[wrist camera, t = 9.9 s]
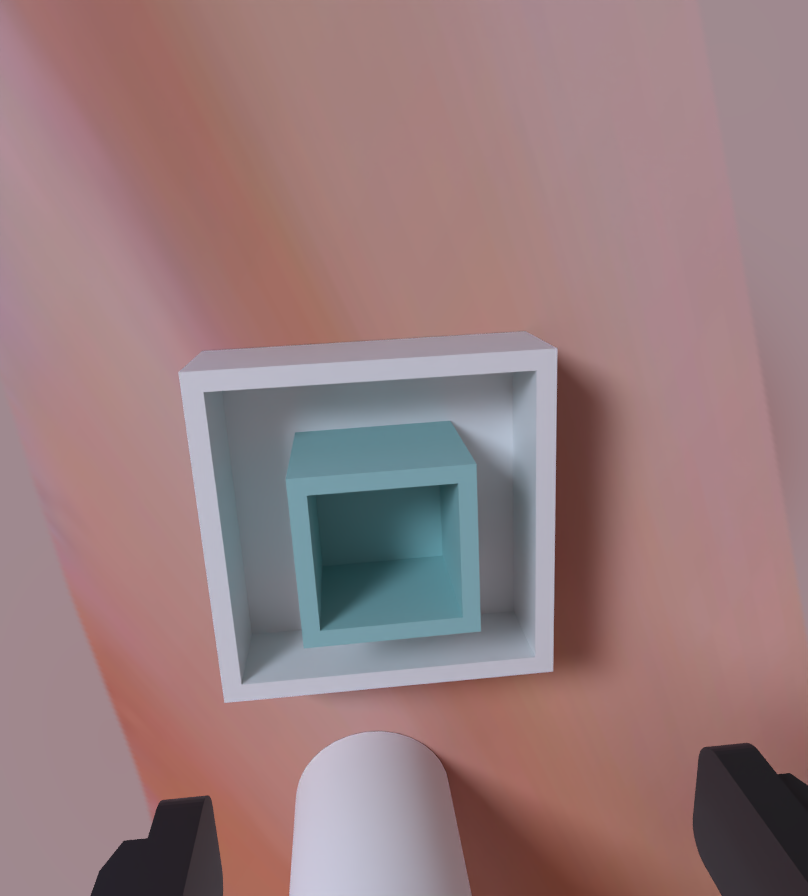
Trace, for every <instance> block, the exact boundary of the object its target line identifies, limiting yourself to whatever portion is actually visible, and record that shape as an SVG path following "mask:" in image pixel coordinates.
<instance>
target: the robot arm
mask: <svg viewBox="0 0 808 896" xmlns="http://www.w3.org/2000/svg"><path fill="white" fill-rule="evenodd" d="M693 831H694V837H695V841H696V845H697V849H698V852H699V854H700V857H701V859H702V861H703V863H704V865H705V867H706V869H707V870H708V872H709V874H710V876H711V877H712V879H713V881H714V883H715V884H716V886H717V888H718V890H719V891H720V893H721V895H722V896H808V785H806V784H805V783H803V782H802V781H800V780H799V779H798V778H796V777H795V776H793V775H792V774H790V773H787V774H777V773H776V772H775V771H774V770H773V768H772V767H771V766H770V765H769V763H768V762H767V761H766V760H765V758H764V757H763V756H762V755H761V753H760V752H759V751H758V750H757V749H756V748H755V747H754V746H753V745H752V744H750V743H741V744H731V745H721V746H711V747H704V748H703V749H702V750H701V751H700V754H699V760H698V770H697V781H696V791H695V802H694V812H693ZM91 896H223V874H222V865H221V859H220V852H219V845H218V839H217V832H216V826H215V819H214V812H213V806H212V801H211V798H210V796H198V797H188V798H178V799H168V800H162V801H160V803H159V804H158V807H157V809H156V813H155V816H154V819H153V823H152V826H151V829H150V832H149V836H148V838H146V839H137V840H127V841H123V843H122V844H121V845H120V846H119V847H118V849H117V850H116V851H115V852H114V854H113V855H112V856H111V857H110V859H109V860H108V861H107V863H106V864H105V865H104V866H103V867H102V869H101V870H100V871H99V874H98V877H97V879H96V882H95V885H94V888H93V890H92V893H91Z"/></svg>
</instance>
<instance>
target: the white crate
mask: <svg viewBox="0 0 808 896" xmlns="http://www.w3.org/2000/svg"><path fill="white" fill-rule="evenodd" d="M178 373H179V380H180V387H181V394H182V401H183V408H184V416H185V423H186V430H187V437H188V444H189V451H190V459H191V466H192V473H193V480H194V487H195V495H196V502H197V509H198V516H199V523H200V530H201V538H202V545H203V552H204V559H205V566H206V573H207V581H208V588H209V595H210V602H211V609H212V616H213V624H214V631H215V638H216V645H217V652H218V659H219V667H220V674H221V681H222V688H223V695H224V702H225V703H228V702H238V701H249V700H259V699H270V698H280V697H291V696H301V695H312V694H322V693H333V692H343V691H354V690H364V689H375V688H385V687H396V686H406V685H417V684H427V683H438V682H448V681H459V680H469V679H480V678H490V677H501V676H511V675H522V674H532V673H543V672H553V647H554V570H555V493H556V416H557V348H556V347H554V346H552V345H550V344H548V343H546V342H544V341H543V340H541V339H539V338H537V337H535V336H533V335H531V334H529V333H528V332H526V331H522V332H506V333H490V334H473V335H457V336H441V337H424V338H408V339H392V340H375V341H359V342H343V343H326V344H310V345H294V346H277V347H261V348H245V349H228V350H212V351H202V352H200V353H199V354H198V355H197V356H196V357H195V358H194V359H193V360H192V361H190V362H189V363H188V364H187V365H186V366H185V367H184V368H183V369H182V370H180V371H179V372H178ZM439 421H451V422H452V424H453V426H454V427H455V429H456V431H457V432H458V434H459V436H460V437H461V439H462V441H463V442H464V444H465V446H466V447H467V449H468V451H469V452H470V454H471V456H472V457H473V459H474V461H475V462H476V464H477V502H478V539H479V577H480V615H481V631H480V632H470V633H460V634H449V635H439V636H428V637H418V638H408V639H397V640H387V641H376V642H366V643H356V644H345V645H335V646H324V647H314V648H304V646H303V637H302V628H301V618H300V609H299V600H298V591H297V581H296V572H295V563H294V553H293V544H292V535H291V525H290V516H289V507H288V497H287V488H286V475H287V470H288V465H289V460H290V455H291V450H292V445H293V440H294V435H295V432H306V431H320V430H333V429H346V428H359V427H373V426H386V425H399V424H412V423H425V422H439Z"/></svg>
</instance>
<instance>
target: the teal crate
mask: <svg viewBox="0 0 808 896" xmlns="http://www.w3.org/2000/svg"><path fill="white" fill-rule="evenodd" d="M286 488H287V497H288V507H289V516H290V525H291V535H292V544H293V553H294V563H295V572H296V581H297V591H298V600H299V609H300V618H301V628H302V637H303V646H304V648H314V647H324V646H335V645H345V644H356V643H366V642H376V641H387V640H397V639H408V638H418V637H428V636H439V635H449V634H460V633H470V632H480V631H481V615H480V577H479V539H478V502H477V464H476V462H475V461H474V459H473V457H472V456H471V454H470V452H469V451H468V449H467V447H466V446H465V444H464V442H463V441H462V439H461V437H460V436H459V434H458V432H457V431H456V429H455V427H454V426H453V424H452V422H451V421H439V422H425V423H412V424H399V425H386V426H373V427H359V428H346V429H333V430H320V431H306V432H295V435H294V440H293V445H292V450H291V455H290V460H289V465H288V470H287V475H286Z"/></svg>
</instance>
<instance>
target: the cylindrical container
mask: <svg viewBox="0 0 808 896" xmlns="http://www.w3.org/2000/svg"><path fill="white" fill-rule="evenodd" d="M289 896H472V894H471V889H470V884H469V879H468V875H467V870H466V865H465V860H464V855H463V850H462V845H461V841H460V836H459V831H458V826H457V821H456V816H455V812H454V807H453V802H452V797H451V792H450V787H449V783H448V778H447V773H446V771H445V769H444V767H443V765H442V763H441V761H440V760H439V759H438V758H437V756H436V755H435V754H434V753H433V752H432V751H431V750H430V749H429V748H427V747H426V746H425V745H424V744H422V743H420V742H418V741H416V740H415V739H413V738H410V737H407V736H404V735H401V734H398V733H391V732H383V731H377V732H363V733H359V734H355V735H350V736H347V737H345V738H343V739H340V740H338V741H335V742H334V743H332V744H331V745H329V746H327V747H326V748H324V749H323V750H322V751H321V752H319V753H318V754H317V755H316V756H315V757H314V758H313V759H312V760H311V762H310V763H309V764H308V766H307V767H306V768H305V770H304V772H303V774H302V776H301V778H300V780H299V784H298V789H297V793H296V806H295V820H294V835H293V849H292V864H291V879H290V893H289Z"/></svg>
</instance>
